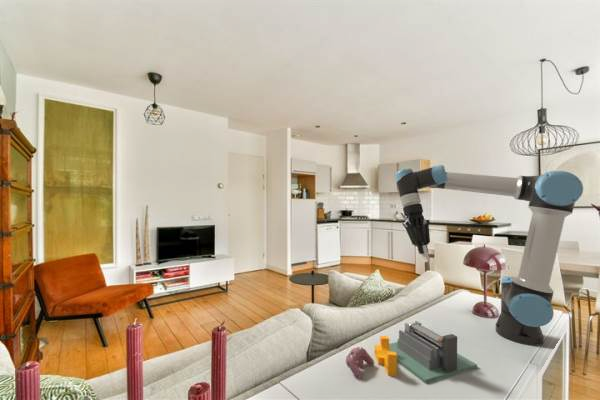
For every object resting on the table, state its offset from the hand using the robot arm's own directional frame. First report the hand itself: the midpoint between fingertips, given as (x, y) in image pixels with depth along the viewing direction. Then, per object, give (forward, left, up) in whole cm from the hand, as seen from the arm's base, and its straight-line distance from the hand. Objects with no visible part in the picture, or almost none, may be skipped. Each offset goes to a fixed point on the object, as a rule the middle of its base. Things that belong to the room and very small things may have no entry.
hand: (426, 261), depth 112 cm
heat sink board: (+13, +13, -29) cm, 34 cm away
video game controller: (+38, +11, -29) cm, 49 cm away
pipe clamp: (+29, +11, -29) cm, 43 cm away
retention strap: (+13, +14, -22) cm, 29 cm away
